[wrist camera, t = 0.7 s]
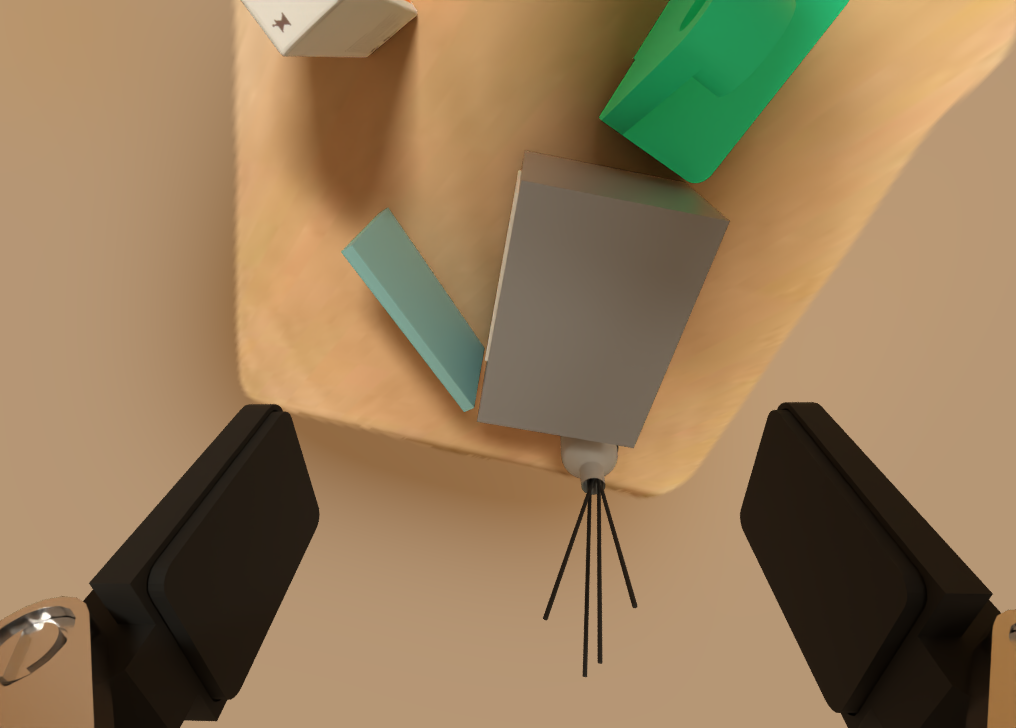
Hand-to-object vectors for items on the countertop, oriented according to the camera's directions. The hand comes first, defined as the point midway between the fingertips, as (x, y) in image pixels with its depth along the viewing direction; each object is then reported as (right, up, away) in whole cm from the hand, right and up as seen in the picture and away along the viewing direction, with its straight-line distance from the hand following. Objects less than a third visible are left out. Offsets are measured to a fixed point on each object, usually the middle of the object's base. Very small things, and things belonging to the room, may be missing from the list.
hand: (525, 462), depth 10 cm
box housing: (+5, +9, +27) cm, 29 cm away
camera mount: (+12, +20, +20) cm, 31 cm away
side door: (-6, +8, +28) cm, 29 cm away
